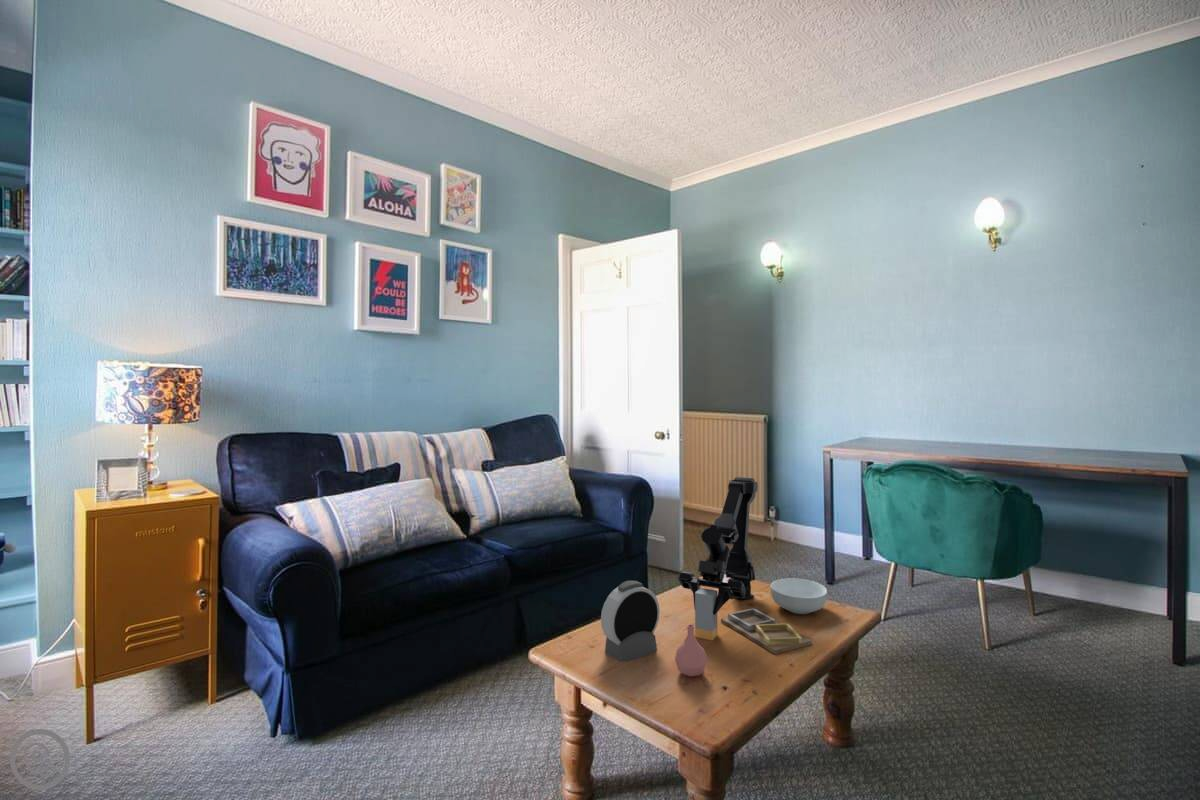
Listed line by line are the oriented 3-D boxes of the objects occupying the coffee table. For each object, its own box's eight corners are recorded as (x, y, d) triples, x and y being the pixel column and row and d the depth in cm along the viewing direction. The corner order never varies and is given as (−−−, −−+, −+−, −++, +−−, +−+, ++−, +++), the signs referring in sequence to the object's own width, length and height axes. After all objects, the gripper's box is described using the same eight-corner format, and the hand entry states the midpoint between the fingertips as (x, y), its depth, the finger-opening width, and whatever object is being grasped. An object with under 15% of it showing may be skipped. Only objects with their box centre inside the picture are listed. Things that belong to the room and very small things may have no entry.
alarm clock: (617, 665, 147) (616, 594, 147) (595, 650, 156) (594, 583, 155) (666, 649, 156) (666, 581, 156) (643, 635, 165) (642, 571, 164)
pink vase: (685, 663, 148) (685, 616, 148) (712, 672, 143) (712, 624, 143) (669, 675, 142) (668, 627, 142) (696, 685, 137) (696, 635, 137)
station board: (720, 621, 173) (720, 613, 173) (755, 613, 179) (755, 605, 179) (775, 654, 152) (775, 645, 152) (812, 644, 158) (812, 635, 158)
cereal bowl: (759, 604, 187) (759, 582, 186) (798, 596, 194) (798, 574, 193) (798, 624, 171) (798, 600, 171) (839, 614, 178) (839, 591, 178)
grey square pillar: (700, 630, 167) (700, 587, 167) (717, 634, 165) (717, 590, 164) (695, 636, 163) (695, 592, 163) (712, 640, 161) (712, 595, 160)
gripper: (679, 543, 171) (665, 593, 162) (742, 552, 162) (731, 605, 153) (689, 562, 178) (676, 611, 169) (750, 572, 169) (739, 623, 160)
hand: (704, 612), depth 163 cm, fingers closed on grey square pillar, 5 cm apart
